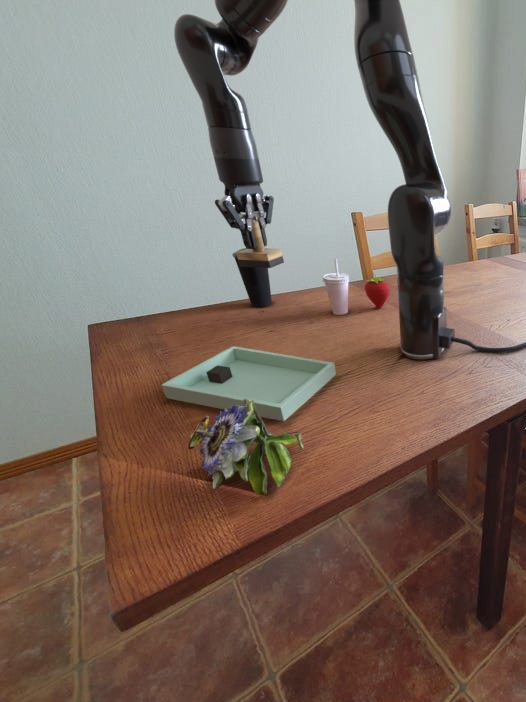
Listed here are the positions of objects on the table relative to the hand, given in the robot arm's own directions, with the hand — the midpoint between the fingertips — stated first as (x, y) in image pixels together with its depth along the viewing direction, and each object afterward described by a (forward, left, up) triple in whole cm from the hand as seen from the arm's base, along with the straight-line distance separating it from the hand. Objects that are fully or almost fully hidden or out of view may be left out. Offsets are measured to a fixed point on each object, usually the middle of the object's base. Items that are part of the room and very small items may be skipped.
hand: (256, 246), depth 80 cm
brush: (-1, 0, -4) cm, 4 cm away
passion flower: (-29, +40, -19) cm, 53 cm away
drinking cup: (+12, -11, -19) cm, 25 cm away
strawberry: (-18, -19, -19) cm, 32 cm away
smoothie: (-10, -13, -19) cm, 25 cm away
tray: (-16, +24, -18) cm, 34 cm away
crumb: (-9, +24, -18) cm, 31 cm away
